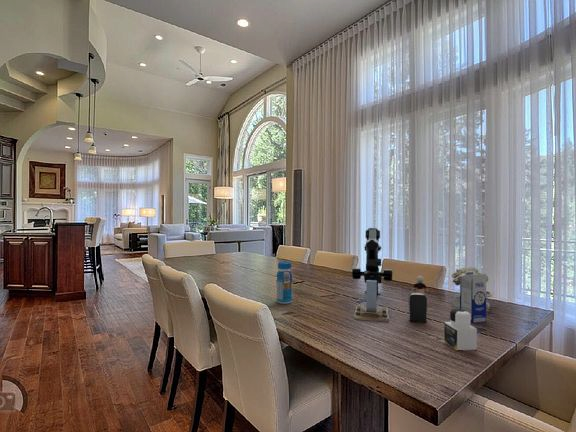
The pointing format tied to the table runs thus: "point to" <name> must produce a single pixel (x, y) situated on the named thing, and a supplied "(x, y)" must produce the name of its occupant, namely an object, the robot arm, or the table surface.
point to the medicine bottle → (460, 331)
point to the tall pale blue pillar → (371, 295)
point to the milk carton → (473, 296)
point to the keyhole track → (371, 314)
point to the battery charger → (417, 307)
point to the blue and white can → (284, 283)
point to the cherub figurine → (457, 281)
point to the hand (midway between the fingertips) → (371, 289)
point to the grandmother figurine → (419, 285)
